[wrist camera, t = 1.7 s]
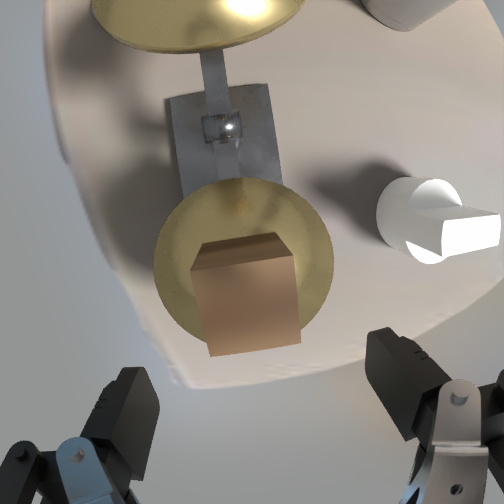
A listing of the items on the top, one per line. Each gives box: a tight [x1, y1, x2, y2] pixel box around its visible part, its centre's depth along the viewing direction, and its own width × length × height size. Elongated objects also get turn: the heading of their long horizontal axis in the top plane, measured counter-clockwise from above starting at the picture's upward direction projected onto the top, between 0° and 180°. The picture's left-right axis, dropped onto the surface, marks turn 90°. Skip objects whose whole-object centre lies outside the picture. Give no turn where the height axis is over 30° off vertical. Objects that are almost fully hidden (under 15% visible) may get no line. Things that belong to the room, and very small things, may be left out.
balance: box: [92, 0, 334, 343], centre depth 19 cm, size 33×13×16 cm, turn 8°
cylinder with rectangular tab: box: [376, 177, 500, 264], centre depth 25 cm, size 9×9×12 cm
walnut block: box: [190, 232, 301, 357], centre depth 17 cm, size 5×5×6 cm
